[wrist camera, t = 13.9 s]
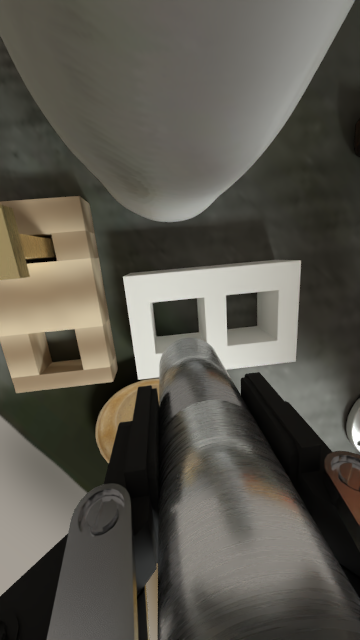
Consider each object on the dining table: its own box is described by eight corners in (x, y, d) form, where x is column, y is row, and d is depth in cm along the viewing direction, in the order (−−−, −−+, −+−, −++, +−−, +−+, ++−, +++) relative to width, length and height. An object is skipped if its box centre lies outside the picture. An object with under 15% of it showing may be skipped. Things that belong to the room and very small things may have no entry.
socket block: (117, 368, 28) (112, 381, 25) (31, 378, 27) (16, 392, 24) (89, 203, 23) (79, 195, 20) (-17, 211, 22) (-43, 204, 19)
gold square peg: (72, 270, 24) (20, 278, 15) (28, 274, 24) (-51, 284, 15) (62, 224, 23) (0, 204, 14) (16, 228, 23) (-78, 209, 14)
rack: (272, 343, 28) (295, 361, 24) (142, 358, 28) (138, 379, 23) (275, 259, 26) (301, 260, 21) (130, 272, 25) (122, 276, 20)
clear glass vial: (219, 388, 14) (389, 764, 4) (162, 395, 14) (170, 814, 3) (216, 334, 13) (437, 634, 3) (156, 341, 13) (140, 691, 3)
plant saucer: (143, 481, 33) (141, 500, 30) (76, 407, 29) (68, 421, 26) (233, 430, 32) (239, 445, 29) (177, 346, 28) (178, 355, 25)
